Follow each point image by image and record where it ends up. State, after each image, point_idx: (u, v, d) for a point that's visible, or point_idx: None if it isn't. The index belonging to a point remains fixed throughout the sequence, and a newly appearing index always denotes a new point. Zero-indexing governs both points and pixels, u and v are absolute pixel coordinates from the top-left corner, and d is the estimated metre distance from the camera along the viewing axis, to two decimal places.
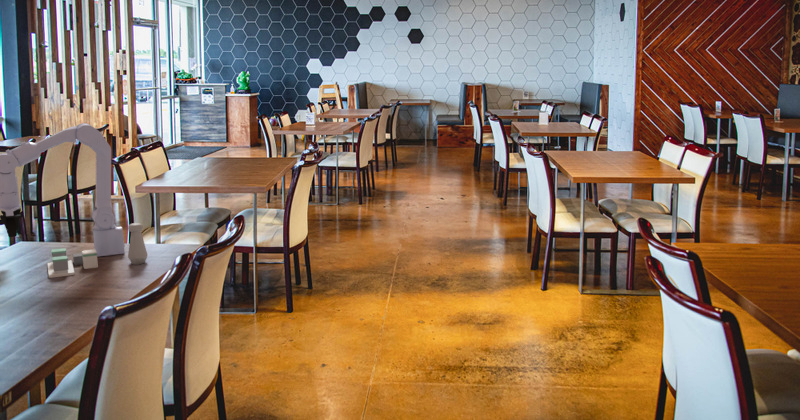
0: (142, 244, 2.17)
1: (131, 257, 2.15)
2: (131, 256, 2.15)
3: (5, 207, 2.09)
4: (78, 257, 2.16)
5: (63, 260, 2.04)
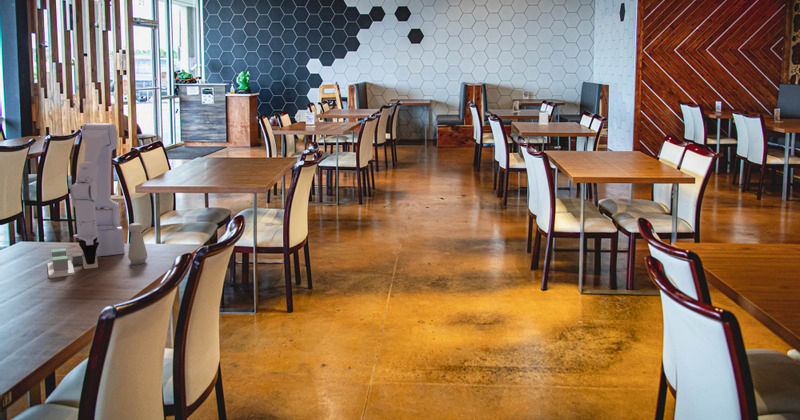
0: (142, 244, 2.17)
1: (131, 257, 2.15)
2: (131, 256, 2.15)
3: (84, 236, 2.09)
4: (77, 257, 2.16)
5: (63, 260, 2.04)
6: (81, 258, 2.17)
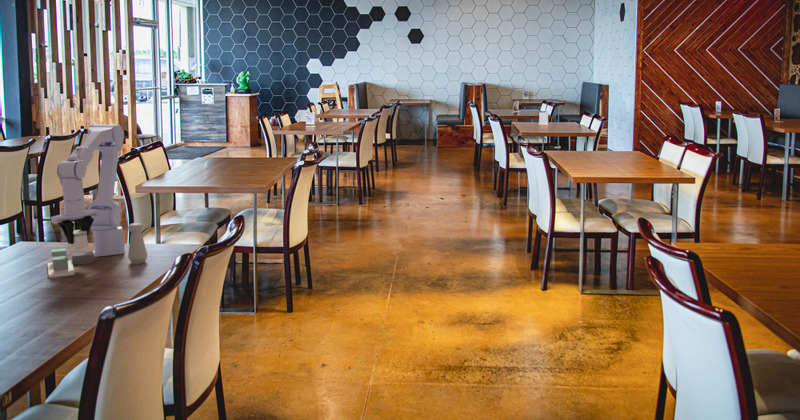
0: (142, 244, 2.17)
1: (131, 257, 2.15)
2: (131, 256, 2.15)
3: (64, 214, 2.07)
4: (77, 257, 2.16)
5: (63, 260, 2.04)
6: (80, 258, 2.16)
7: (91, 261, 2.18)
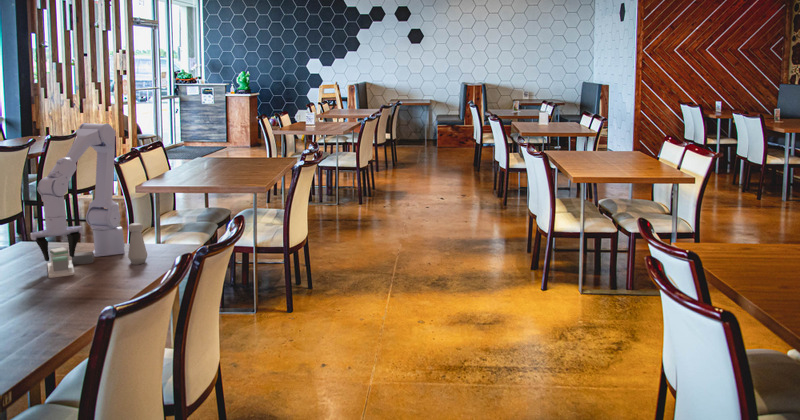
0: (142, 244, 2.17)
1: (131, 257, 2.15)
2: (131, 256, 2.15)
3: (46, 230, 2.06)
4: (76, 257, 2.16)
5: (63, 260, 2.04)
6: (80, 258, 2.17)
7: (91, 261, 2.18)
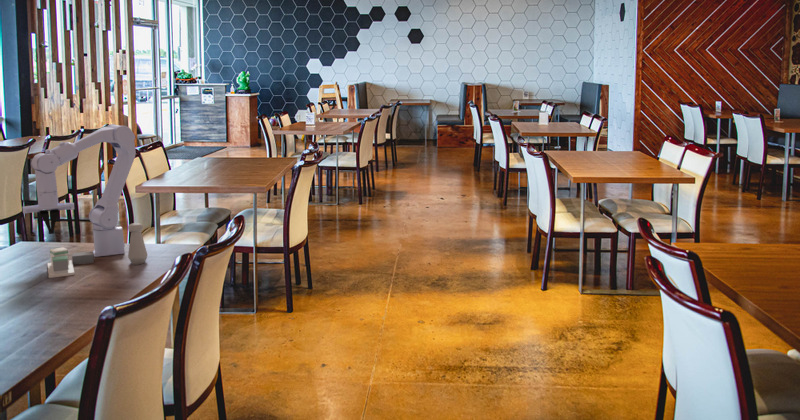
0: (142, 244, 2.17)
1: (131, 257, 2.15)
2: (131, 256, 2.15)
3: None
4: (77, 257, 2.16)
5: (63, 260, 2.04)
6: (80, 258, 2.17)
7: (91, 261, 2.18)
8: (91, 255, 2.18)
